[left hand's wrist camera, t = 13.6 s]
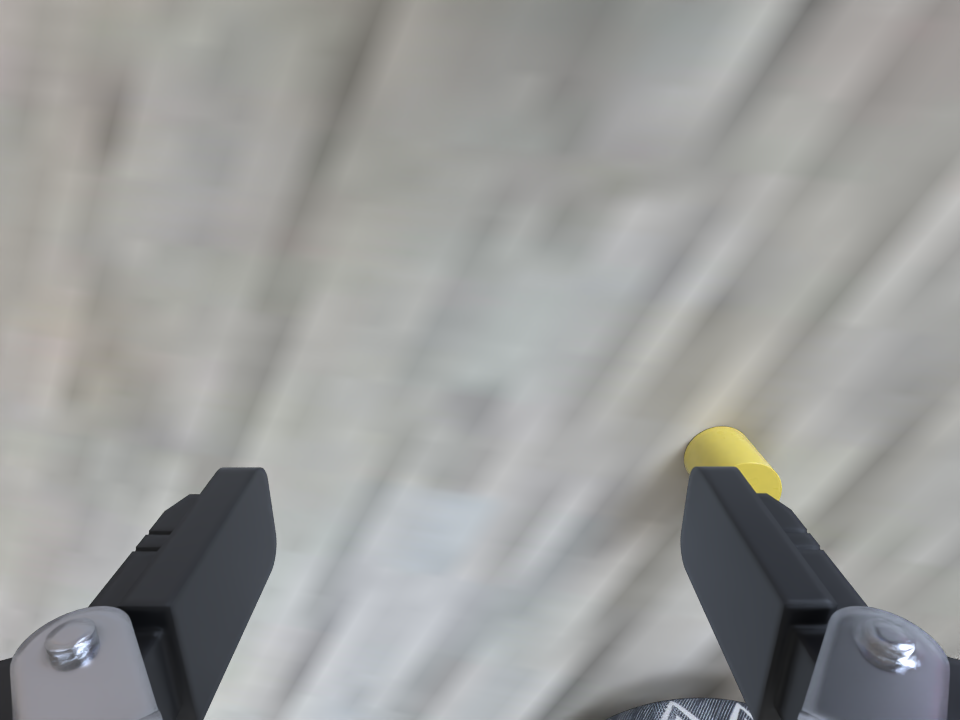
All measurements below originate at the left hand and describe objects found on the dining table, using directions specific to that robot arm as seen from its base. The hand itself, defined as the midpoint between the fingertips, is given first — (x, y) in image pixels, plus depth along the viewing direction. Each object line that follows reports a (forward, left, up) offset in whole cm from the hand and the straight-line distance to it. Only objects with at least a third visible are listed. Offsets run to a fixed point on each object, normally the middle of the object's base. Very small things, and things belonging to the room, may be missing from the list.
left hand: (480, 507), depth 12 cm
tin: (-4, +21, -26) cm, 34 cm away
